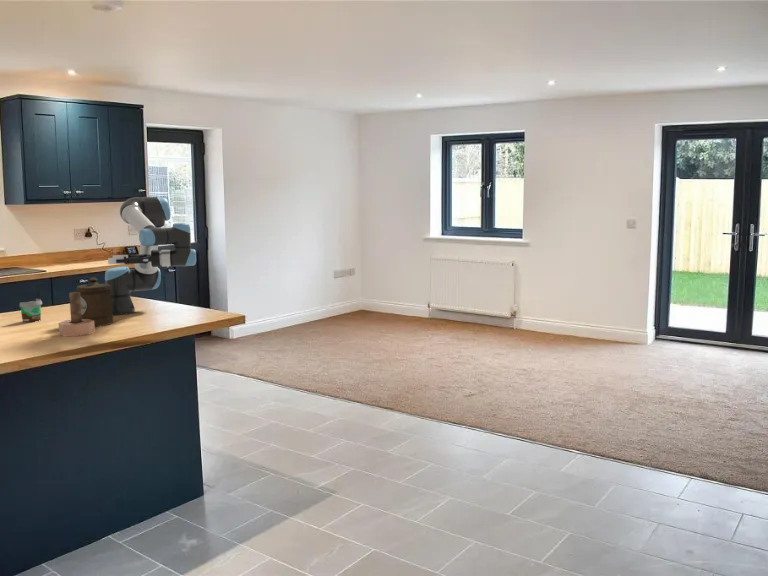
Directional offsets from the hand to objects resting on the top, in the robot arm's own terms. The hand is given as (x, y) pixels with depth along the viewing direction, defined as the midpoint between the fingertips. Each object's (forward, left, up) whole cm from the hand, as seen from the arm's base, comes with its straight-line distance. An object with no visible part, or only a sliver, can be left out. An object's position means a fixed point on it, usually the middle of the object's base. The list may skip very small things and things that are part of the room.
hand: (110, 259), depth 315 cm
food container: (+18, -50, -32) cm, 62 cm away
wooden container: (-1, -23, -32) cm, 40 cm away
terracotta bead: (+14, -6, -32) cm, 36 cm away
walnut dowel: (+14, -6, -32) cm, 36 cm away
